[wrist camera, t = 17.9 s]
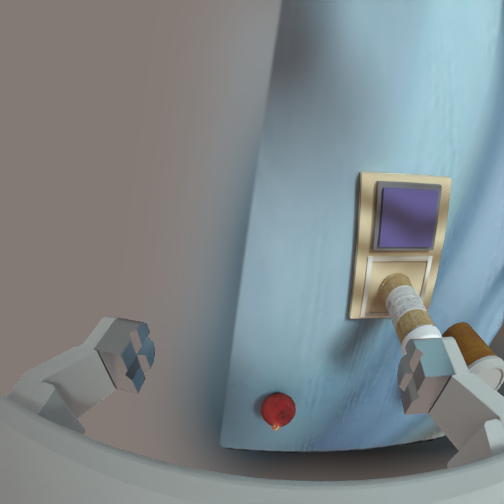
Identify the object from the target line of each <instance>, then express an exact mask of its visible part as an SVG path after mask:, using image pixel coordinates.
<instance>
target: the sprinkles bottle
mask: <svg viewBox="0 0 504 504" xmlns="http://www.w3.org/2000/svg"><path fill="white" fill-rule="evenodd" d="M380 292H381V296H382V297H383V299H384V301H385V303H386V307H387V310H388V312H389V315H390V318H391V320H392V323H393V326H394V328H395V331H396V333H397V335H398V338H399V340H400V342H401V350H402V353H403V356H405V355H406V354H407V353H406V349H405V347H406V345H407V342H408V341H409V340H410V339H421V338H439V337H442V336H441V334H440V332H439V330H438V329H437V328H436V327H435V326H434V323H433V322H432V320H431V318H430V316H429V314H428V312H427V310H426V308H425V306H424V304H423V302H422V300H421V298H420V297H419V295H418V293H417V291H416V290H415V289H414V287H413V286H412V284H411V281H410V279H409V277H407V276H406V275H405V274H403V273H394V274H391V275H389V276H388V277H387V278H386V279H385V280H384V281H383V282H382V284H381V290H380Z"/></svg>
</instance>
